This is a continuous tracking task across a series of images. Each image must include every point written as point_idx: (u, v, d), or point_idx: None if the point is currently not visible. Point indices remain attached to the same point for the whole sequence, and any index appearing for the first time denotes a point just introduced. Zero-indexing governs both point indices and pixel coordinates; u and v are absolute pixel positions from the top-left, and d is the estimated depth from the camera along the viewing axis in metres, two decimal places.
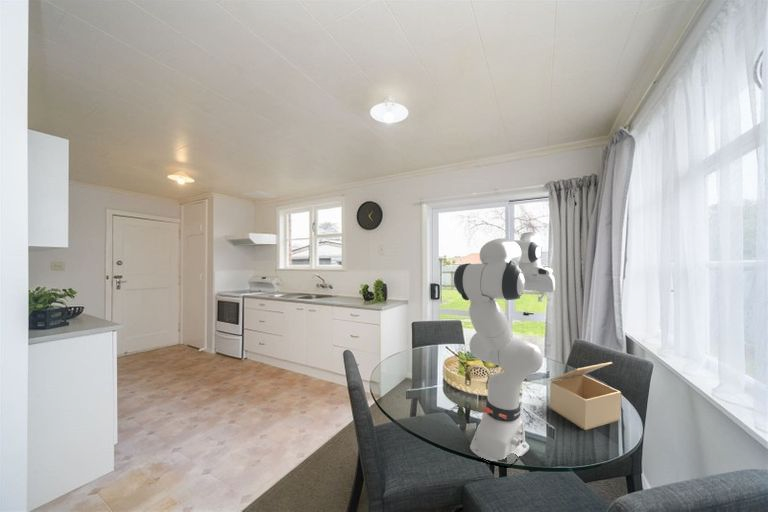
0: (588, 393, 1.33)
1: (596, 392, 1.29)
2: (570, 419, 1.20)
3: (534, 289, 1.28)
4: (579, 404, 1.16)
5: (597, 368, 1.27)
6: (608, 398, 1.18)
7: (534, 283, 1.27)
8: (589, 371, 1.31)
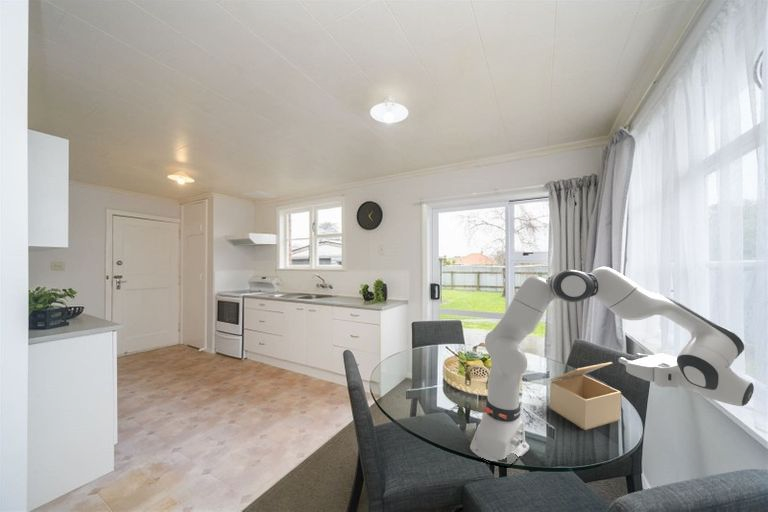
0: (588, 393, 1.33)
1: (596, 392, 1.29)
2: (570, 419, 1.20)
3: (640, 358, 1.03)
4: (579, 404, 1.16)
5: (597, 368, 1.27)
6: (608, 398, 1.18)
7: (649, 361, 1.00)
8: (589, 371, 1.31)
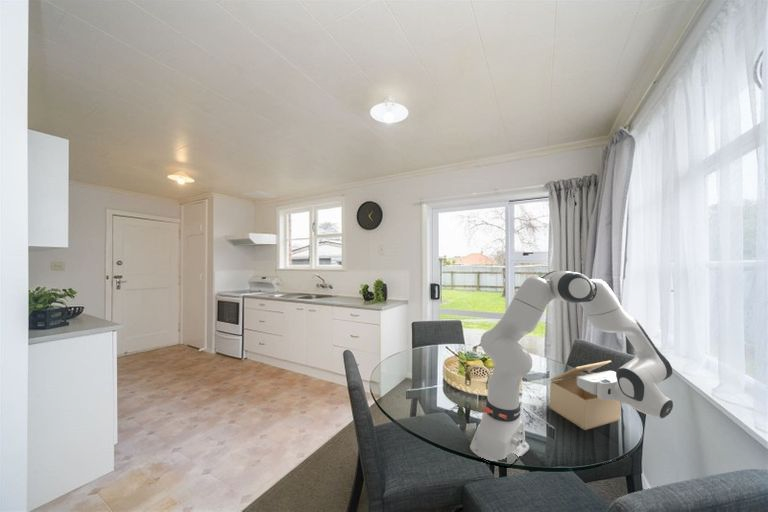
0: (588, 393, 1.33)
1: None
2: (570, 419, 1.20)
3: (590, 374, 1.19)
4: (579, 404, 1.16)
5: (596, 367, 1.28)
6: None
7: (596, 377, 1.17)
8: (589, 371, 1.31)
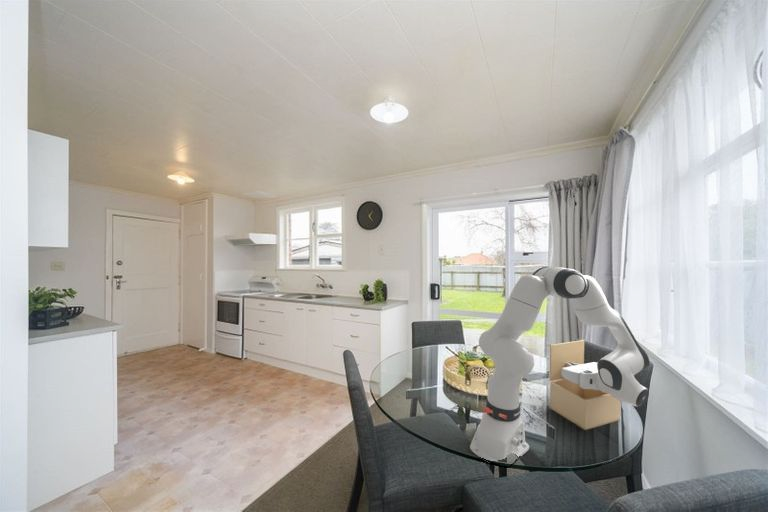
0: (588, 393, 1.33)
1: (596, 392, 1.29)
2: (570, 419, 1.20)
3: (575, 365, 1.26)
4: (579, 404, 1.16)
5: (581, 354, 1.34)
6: (608, 398, 1.18)
7: (580, 368, 1.24)
8: (580, 363, 1.34)
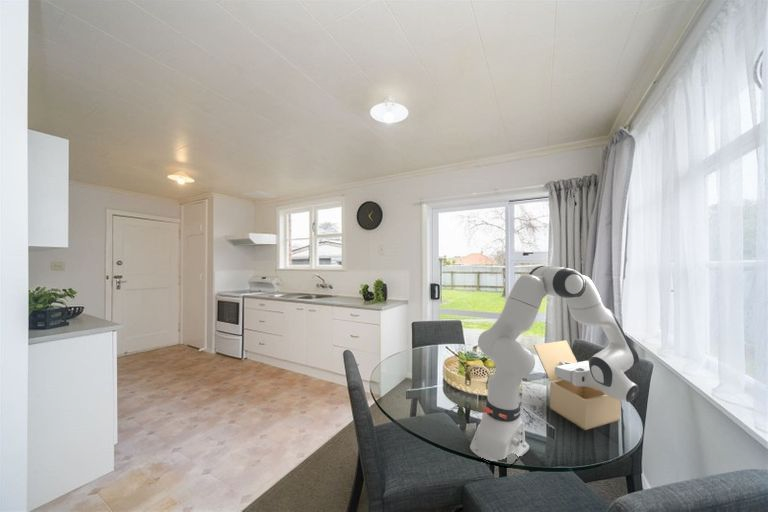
0: (588, 393, 1.33)
1: (596, 392, 1.29)
2: (570, 419, 1.20)
3: (568, 364, 1.29)
4: (579, 404, 1.16)
5: (570, 353, 1.40)
6: (608, 398, 1.18)
7: (573, 366, 1.27)
8: None
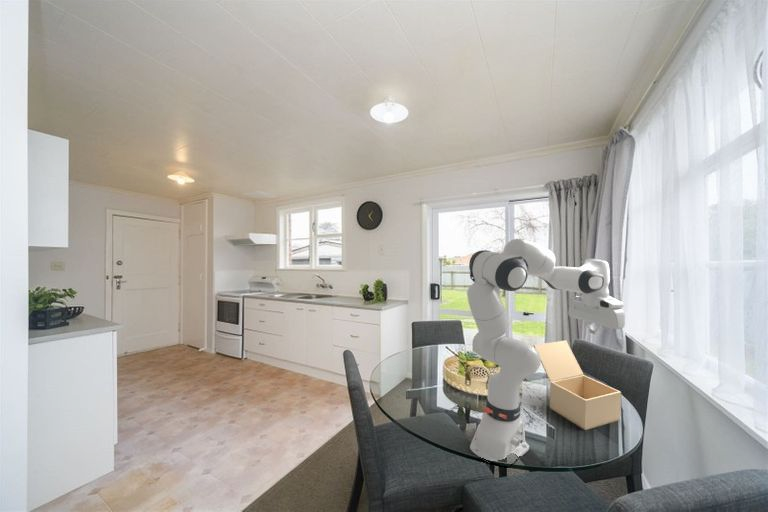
0: (588, 393, 1.33)
1: (596, 392, 1.29)
2: (570, 419, 1.20)
3: (597, 322, 1.13)
4: (579, 404, 1.16)
5: (570, 353, 1.40)
6: (608, 398, 1.18)
7: (597, 316, 1.13)
8: (574, 363, 1.37)
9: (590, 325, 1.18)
